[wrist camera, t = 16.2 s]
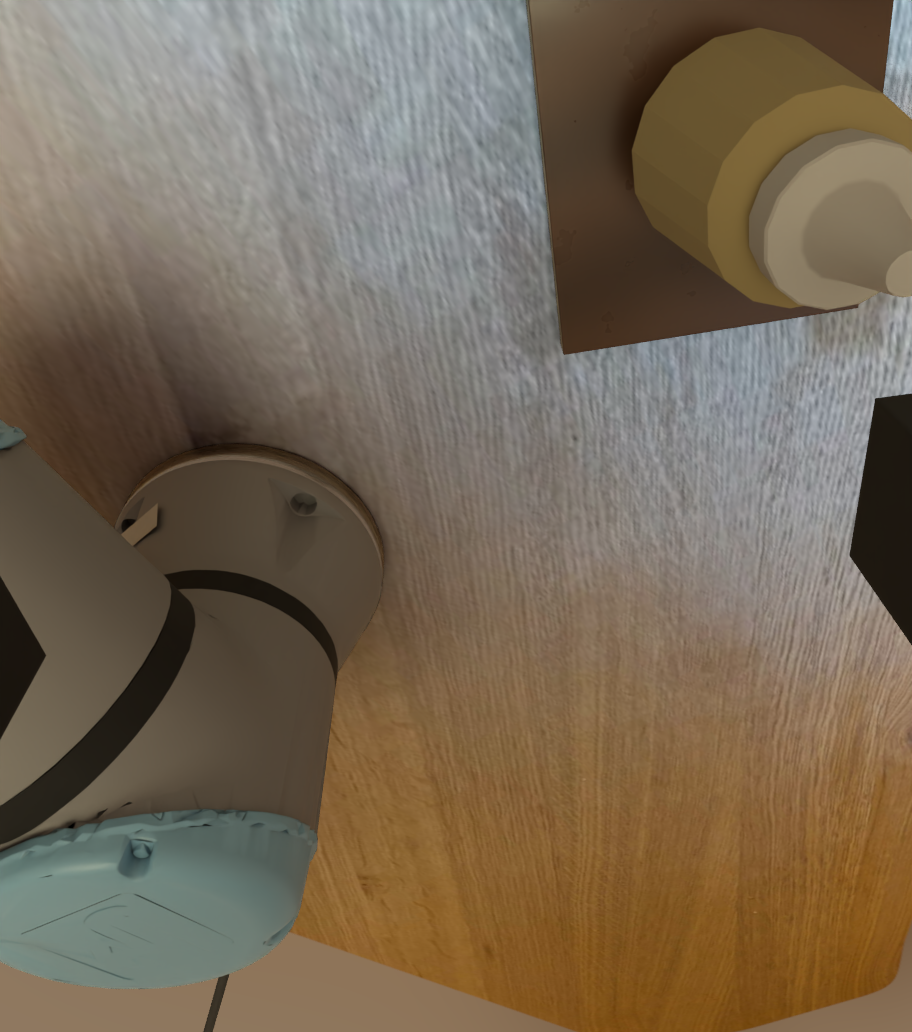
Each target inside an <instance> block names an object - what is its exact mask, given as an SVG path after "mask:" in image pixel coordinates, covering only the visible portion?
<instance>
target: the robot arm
mask: <svg viewBox="0 0 912 1032" xmlns="http://www.w3.org/2000/svg"><path fill="white" fill-rule="evenodd" d="M25 438H27V436H26V435H25V434H24V432H23V431H22V430H21V429H20V428H18V427H12V426H8V425H7V424H5V423H4V422H3V421H2V420H1V419H0V961H1V962H2V963H4V964H6V965H8V966H10V967H13V968H16V969H18V970H21V971H24V972H26V973H29V974H32V975H35V976H39V977H42V978H46V979H49V980H53V981H58V982H63V983H68V984H74V985H80V986H88V987H100V988H111V989H152V988H165V987H175V986H181V985H187V984H192V983H198V982H203V981H207V980H211V979H215V978H218V977H219V978H218V982H217V985H216V989H215V993H214V997H213V1000H212V1003H211V1007H210V1010H209V1014H208V1018H207V1021H206V1025H205V1028H204V1032H213V1028H214V1025H215V1021H216V1018H217V1015H218V1011H219V1008H220V1005H221V1001H222V998H223V994H224V991H225V987H226V983H227V980H228V977H229V974H230V973H233V972H235V971H238V970H240V969H242V968H244V967H246V966H248V965H251V964H252V963H254V962H256V961H258V960H259V959H261V958H262V957H264V956H265V955H267V954H268V953H269V952H270V951H271V950H273V949H274V948H275V947H276V946H277V945H278V944H279V943H280V942H281V941H282V940H283V939H284V937H285V936H286V935H287V934H288V932H289V931H290V929H291V928H292V926H293V924H294V922H295V919H296V918H297V916H298V913H299V910H300V906H301V902H302V897H303V892H304V887H305V883H306V878H307V873H308V868H309V863H310V861H311V860H312V859H313V856H314V854H315V852H316V850H317V841H318V837H317V830H318V822H319V814H320V806H321V798H322V790H323V783H324V775H325V767H326V759H327V751H328V743H329V735H330V727H331V719H332V711H333V703H334V695H335V686H336V679H337V673H338V671H339V670H340V668H341V667H342V665H343V664H344V662H345V660H346V659H347V657H348V656H349V654H350V653H351V651H352V649H353V648H354V646H355V644H356V643H357V641H358V639H359V638H360V636H361V634H362V633H363V632H364V631H365V629H366V628H367V626H368V624H369V623H370V621H371V619H372V617H373V615H374V613H375V610H376V608H377V606H378V603H379V600H380V596H381V591H382V584H383V574H384V550H383V545H382V540H381V537H380V534H379V531H378V528H377V526H376V524H375V522H374V519H373V518H372V516H371V514H370V513H369V511H368V509H367V508H366V506H365V505H364V504H363V503H362V501H361V500H360V499H359V498H358V496H357V495H356V494H355V493H354V492H353V491H352V490H351V489H350V488H349V487H348V486H347V485H345V484H344V483H343V482H342V481H341V480H340V479H338V478H337V477H336V476H334V475H333V474H332V473H330V472H328V471H327V470H325V469H324V468H322V467H320V466H319V465H317V464H315V463H313V462H311V461H309V460H307V459H304V458H302V457H299V456H297V455H295V454H292V453H288V452H285V451H282V450H278V449H274V448H270V447H265V446H258V445H249V444H221V445H212V446H206V447H201V448H197V449H193V450H190V451H187V452H184V453H181V454H179V455H177V456H174V457H172V458H170V459H168V460H167V461H165V462H163V463H161V464H160V465H159V466H157V467H156V468H154V469H153V470H152V471H151V472H149V473H148V474H147V475H146V476H145V477H144V478H143V479H142V480H141V481H140V482H139V484H138V485H137V486H136V487H135V489H134V490H133V492H132V493H131V495H130V497H129V498H128V500H127V502H126V504H125V505H124V507H123V509H122V511H121V513H120V515H119V517H118V519H117V521H116V524H115V527H114V528H113V527H112V526H111V525H110V524H109V523H108V522H107V521H106V520H105V519H104V518H103V517H102V516H101V515H100V514H99V513H98V512H97V511H96V510H95V509H94V508H93V507H92V506H91V505H90V504H89V503H87V502H86V501H85V500H84V499H83V498H82V497H81V496H80V495H79V494H78V493H77V492H76V491H75V490H74V489H73V488H72V487H71V486H70V485H69V484H68V483H67V482H66V481H65V480H64V479H63V478H62V477H61V476H60V475H59V474H57V473H56V472H55V471H54V470H53V469H52V468H51V467H50V466H49V465H48V464H47V463H46V462H45V461H44V460H43V459H42V458H41V457H40V456H39V455H38V454H37V453H36V452H35V451H34V450H33V449H32V448H31V447H30V446H29V445H27V444H26V443H25V442H24V441H23V439H25ZM850 557H851V558H852V560H853V561H854V563H855V564H856V566H857V567H858V569H859V570H860V571H861V573H862V574H863V576H864V577H865V579H866V580H867V581H868V583H869V584H870V586H871V587H872V589H873V590H874V592H875V593H876V594H877V596H878V597H879V599H880V600H881V602H882V603H883V604H884V606H885V607H886V609H887V610H888V612H889V613H890V614H891V616H892V617H893V619H894V620H895V622H896V623H897V625H898V626H899V627H900V629H901V630H902V632H903V633H904V635H905V636H906V637H907V639H908V640H909V642H910V643H911V645H912V394H905V395H898V396H891V397H883V398H876V399H875V404H874V410H873V416H872V422H871V428H870V434H869V440H868V447H867V453H866V459H865V465H864V471H863V477H862V483H861V489H860V495H859V501H858V507H857V513H856V520H855V526H854V532H853V538H852V544H851V550H850Z"/></svg>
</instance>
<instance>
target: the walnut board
mask: <svg viewBox="0 0 912 1032" xmlns="http://www.w3.org/2000/svg"><path fill="white" fill-rule="evenodd" d="M893 1H894V0H526V7H527V17H528V26H529V36H530V46H531V56H532V66H533V76H534V86H535V95H536V105H537V115H538V125H539V135H540V145H541V154H542V164H543V174H544V184H545V194H546V204H547V214H548V223H549V233H550V243H551V253H552V263H553V273H554V282H555V292H556V302H557V312H558V322H559V332H560V341H561V347H562V351H563V354H564V355H566V354H572V353H578V352H584V351H591V350H597V349H603V348H609V347H616V346H622V345H628V344H635V343H641V342H647V341H653V340H660V339H666V338H672V337H678V336H685V335H691V334H697V333H703V332H710V331H716V330H722V329H728V328H735V327H741V326H747V325H754V324H760V323H766V322H772V321H779V320H785V319H791V318H797V317H804V316H810V315H816V314H822V313H829V312H835V311H841V310H847V309H854V308H858V304H856V305H851V306H845V307H840V308H835V309H830V310H824V309H819V308H814V307H809V306H800V307H795V308H785V307H780V306H775V305H769V304H764V303H759V302H754V301H752V300H751V299H749V298H748V297H747V296H745V295H744V294H743V293H741V292H740V291H739V290H737V289H736V288H735V287H733V286H732V285H731V284H729V283H728V282H727V281H725V280H724V279H722V278H721V277H720V276H718V275H717V274H716V273H714V272H713V271H712V270H710V269H709V268H708V267H706V266H705V265H704V264H702V263H701V262H700V261H698V260H697V259H695V258H694V257H693V256H691V255H690V254H689V253H687V252H686V251H685V250H683V249H682V248H681V247H679V246H678V245H677V244H675V243H674V242H673V241H671V240H670V239H669V238H667V237H666V236H664V235H663V234H662V233H660V232H659V231H658V230H656V229H655V228H654V227H653V226H652V224H651V223H650V221H649V219H648V217H647V215H646V213H645V211H644V209H643V207H642V205H641V204H640V202H639V200H638V198H637V196H636V194H635V188H634V174H633V161H632V148H633V145H634V141H635V138H636V134H637V131H638V128H639V124H640V121H641V117H642V114H643V111H644V107H645V105H646V104H647V102H648V101H649V99H650V98H651V97H652V95H653V94H654V92H655V91H656V90H657V88H658V87H659V86H660V84H661V83H662V81H663V80H664V79H665V77H666V76H667V74H668V73H669V72H670V70H671V69H672V67H673V66H674V65H675V64H677V63H678V62H680V61H681V60H683V59H684V58H686V57H687V56H688V55H690V54H691V53H693V52H694V51H696V50H697V49H699V48H700V47H701V46H703V45H704V44H706V43H707V42H709V41H710V40H711V39H713V38H715V37H719V36H724V35H728V34H733V33H737V32H742V31H746V30H750V29H755V28H763V29H767V30H772V31H776V32H780V33H784V34H789V35H793V36H797V37H801V38H802V39H804V40H805V41H807V42H808V43H810V44H811V45H812V46H814V47H815V48H817V49H818V50H820V51H821V52H823V53H824V54H826V55H827V56H829V57H830V58H832V59H833V60H834V61H836V62H837V63H839V64H840V65H842V66H843V67H845V68H846V69H848V70H849V71H851V72H852V73H854V74H855V75H856V76H858V77H859V78H861V79H862V80H864V81H865V82H867V83H868V84H870V85H871V86H873V87H874V88H876V89H877V90H878V91H880V92H881V93H883V88H884V79H885V71H886V62H887V53H888V45H889V36H890V27H891V19H892V10H893Z"/></svg>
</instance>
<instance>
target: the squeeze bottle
mask: <svg viewBox="0 0 912 1032" xmlns="http://www.w3.org/2000/svg"><path fill="white" fill-rule="evenodd" d="M632 161H633V174H634V188H635V194H636V196H637V198H638V200H639V202H640V204H641V205H642V207H643V209H644V211H645V213H646V215H647V217H648V219H649V221H650V223H651V224H652V226H653V227H654V228H655V229H656V230H658V231H659V232H660V233H662V234H663V235H664V236H666V237H667V238H669V239H670V240H671V241H673V242H674V243H675V244H677V245H678V246H679V247H681V248H682V249H683V250H685V251H686V252H687V253H689V254H690V255H691V256H693V257H694V258H695V259H697V260H698V261H700V262H701V263H702V264H704V265H705V266H706V267H708V268H709V269H710V270H712V271H713V272H714V273H716V274H717V275H718V276H720V277H721V278H722V279H724V280H725V281H727V282H728V283H729V284H731V285H732V286H733V287H735V288H736V289H737V290H739V291H740V292H741V293H743V294H744V295H745V296H747V297H748V298H749V299H751V300H752V301H754V302H759V303H764V304H769V305H775V306H780V307H785V308H795V307H800V306H809V307H814V308H819V309H824V310H830V309H835V308H840V307H845V306H851V305H856V304H860V303H861V302H863V301H865V300H867V299H869V298H870V297H872V296H874V295H876V294H878V293H880V292H883V293H887V294H890V295H894V296H899V297H908V296H912V120H911V119H910V118H909V117H908V116H907V115H906V114H905V113H904V112H903V111H902V110H901V109H900V108H898V107H897V106H896V105H895V104H894V103H893V102H892V101H891V100H890V99H889V98H888V97H887V96H885V95H884V94H883V93H881V92H880V91H878V90H877V89H876V88H874V87H873V86H871V85H870V84H868V83H867V82H865V81H864V80H862V79H861V78H859V77H858V76H856V75H855V74H854V73H852V72H851V71H849V70H848V69H846V68H845V67H843V66H842V65H840V64H839V63H837V62H836V61H834V60H833V59H832V58H830V57H829V56H827V55H826V54H824V53H823V52H821V51H820V50H818V49H817V48H815V47H814V46H812V45H811V44H810V43H808V42H807V41H805V40H804V39H802V38H801V37H797V36H793V35H789V34H784V33H780V32H776V31H772V30H767V29H763V28H755V29H750V30H746V31H742V32H737V33H733V34H728V35H724V36H719V37H715V38H713V39H711V40H710V41H709V42H707V43H706V44H704V45H703V46H701V47H700V48H699V49H697V50H696V51H694V52H693V53H691V54H690V55H688V56H687V57H686V58H684V59H683V60H681V61H680V62H678V63H677V64H675V65H674V66H673V67H672V69H671V70H670V72H669V73H668V74H667V76H666V77H665V79H664V80H663V81H662V83H661V84H660V86H659V87H658V88H657V90H656V91H655V92H654V94H653V95H652V97H651V98H650V99H649V101H648V102H647V104H646V105H645V107H644V111H643V114H642V117H641V121H640V124H639V128H638V131H637V134H636V138H635V141H634V145H633V148H632Z"/></svg>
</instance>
